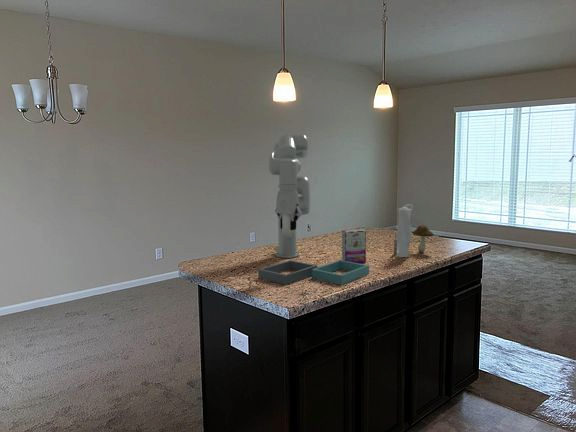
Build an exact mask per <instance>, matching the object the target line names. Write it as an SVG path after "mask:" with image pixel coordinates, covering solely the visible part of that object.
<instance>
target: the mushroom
mask: <svg viewBox="0 0 576 432" xmlns="http://www.w3.org/2000/svg"><path fill="white" fill-rule="evenodd" d="M412 235H414V236H417V237H420V241H419V245H418V246H417V247H418V248H417V250H418V252H419V253H424V252H425V251H426V238H427V237H433V236H434V233H433V232H432V231H430V230H429V228H428V227H427V226H425V225H423V224H422V225H419V226H417V228H416V229H414V231H412Z"/></svg>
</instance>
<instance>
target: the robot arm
mask: <svg viewBox="0 0 576 432" xmlns="http://www.w3.org/2000/svg"><path fill="white" fill-rule="evenodd" d="M308 152H309V139H308V138H307V135H305V134H301V133H299V134H298V133H296V134H293V133H290V134H289V133H287V134H283V135H281V136H280V137H279V140H278V142H277V143H275V144H274V145H273V151H272V152H271V154H270V155H269V159H268V171H269V173H270V174H271V175H272V176H278V181H279V182H278V188H279V190H278V191H277V193H276V204H275V210H274V213H275V214H276V215H277V219H278V221H277V222H278V223H277V225H278V228H277V229H278V234H277V235H278V236H277V237H278V245H275V247H273V250H274V251H276V252H275V256H276V257H277V258H281V259H294V258H298V257H300V252H298V251H297V221H298V220H299V218H300V217H301V216H302V215H308V214H309V213H310V210H311V197H310V196H311V193H310V191H311V189H310V181H309V178H308V177H307V176H304V175H302V176H301V175H300V176H299V173H300V172H301V162H300V161H299V159H305V158H306V157H307V156H308ZM299 195H300V196H299ZM282 214H287V215H290V216H291V220H292V221H291V222H290V224H291V230H294V236H282ZM293 215H294V216H293Z"/></svg>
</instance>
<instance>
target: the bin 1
mask: <svg viewBox="0 0 576 432" xmlns="http://www.w3.org/2000/svg"><path fill="white" fill-rule="evenodd" d="M317 267H318V265H317V264H311V263H306V262H301V261H297V260H292V259H290V260H286V261H283V262H279V263H276V264H273V265H268V266H265V267H262V268H258V277H257V278H258V279H260V278H261V279H260V280H264V279H265V280H264V281H269V282H273V283H276V284H281V285H285V286H287V284H288V285H291V284H293V283H296V282H299V281H301V280H304V279H307V278H312V269H314V268H317ZM286 270H287V271H289V270H291V271H292V270H293V272H290V273H286V274H284V273H283V271H284V272H286Z"/></svg>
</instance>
